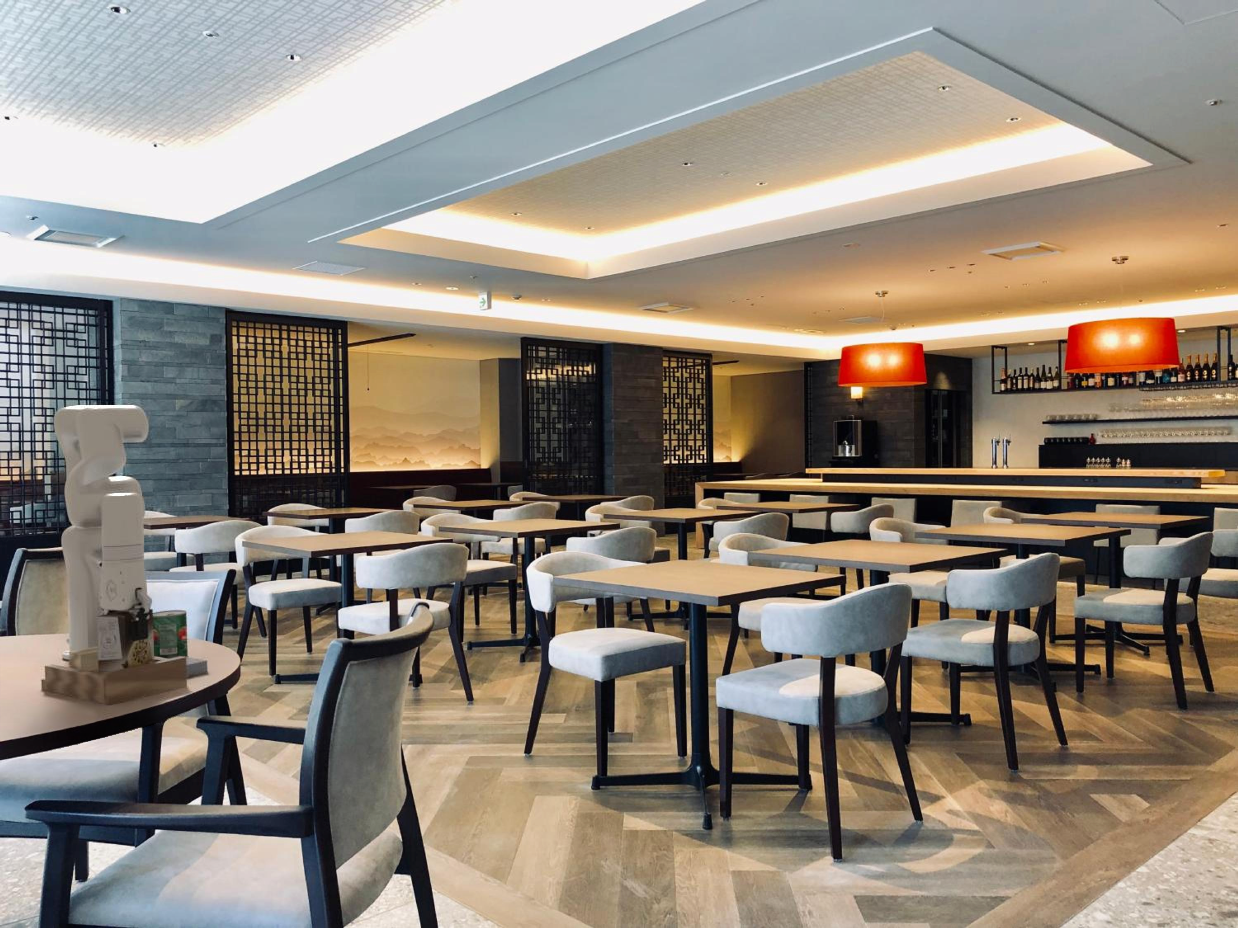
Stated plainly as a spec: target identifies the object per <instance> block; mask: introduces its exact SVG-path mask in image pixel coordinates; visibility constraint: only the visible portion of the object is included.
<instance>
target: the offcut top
mask: <svg viewBox="0 0 1238 928" xmlns="http://www.w3.org/2000/svg"><path fill="white" fill-rule="evenodd" d="M68 663H69V664H68V665H69V666H68V667H69V668H73V669H78V670H83V671H85V670H91V669H96V668H98V647H92V648H86V649H81V650H75V651H70V652H69V660H68Z"/></svg>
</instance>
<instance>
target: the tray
mask: <svg viewBox="0 0 1238 928" xmlns="http://www.w3.org/2000/svg"><path fill="white" fill-rule="evenodd" d="M40 680H41V690H45V691H49V692H53V693H56V694H61V695H65V696H70V697H73V698H76V699H82V700H86V701H89V702H94V703H98V704H101V705H102V704H103V705H107V706H111V705H115V704H119V702H120V703H122V702H127V701H131V700H136V699H140V698H143V697H148V696H151V695H156V694H160V693H161V694H162V693H164V692H169V691H172V690H176V689H181V688H184V687H185V688H186V687H188V684H187V683H188V678H187V671H186V657H182V656H181V657H176V658H172V659H167V658H162V657H156V656H154V662H153V663H148V664H144V665H139V666H134V667H130V668H125V669H121V670H116V671H111V672H107V673H103V675H102V674H97V673H92V672H87V671H83V670H78V669H73V668H69V666H62V665H58V664H54V663H53V664H45V665H44V678H42V679H40Z"/></svg>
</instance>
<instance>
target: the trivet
mask: <svg viewBox="0 0 1238 928" xmlns="http://www.w3.org/2000/svg"><path fill="white" fill-rule="evenodd" d="M176 657H181V656H176ZM176 657H172V658H176ZM182 657H185V656H182ZM172 658H167V659H172ZM186 671H187V676H188V677H191V675H192V676H195V674H196V675H200V674H203V673H208V660H206V659H201V658H200V659H199V658H197V657H196V658H195V657H190V656H188V657H186Z"/></svg>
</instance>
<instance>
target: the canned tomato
mask: <svg viewBox="0 0 1238 928" xmlns="http://www.w3.org/2000/svg"><path fill="white" fill-rule="evenodd" d="M187 621H188V620H187V611H186V610H184V609H179V610H178V609H173V610H172V609H170V610H161V611H155V612H153V638H154V656H156V657H162V658H172V657H176V656H185V657H189V656H188V654H189V653H188V625H187V624H188V623H187Z"/></svg>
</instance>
